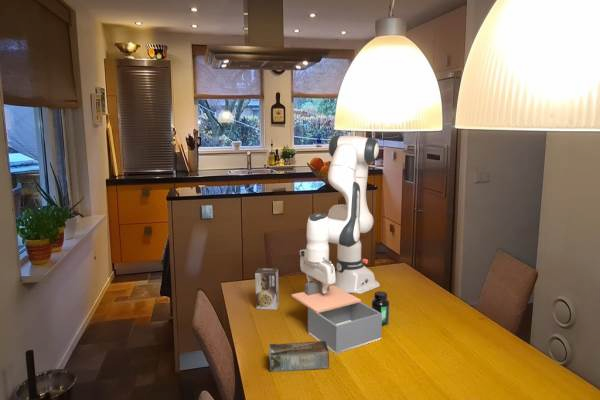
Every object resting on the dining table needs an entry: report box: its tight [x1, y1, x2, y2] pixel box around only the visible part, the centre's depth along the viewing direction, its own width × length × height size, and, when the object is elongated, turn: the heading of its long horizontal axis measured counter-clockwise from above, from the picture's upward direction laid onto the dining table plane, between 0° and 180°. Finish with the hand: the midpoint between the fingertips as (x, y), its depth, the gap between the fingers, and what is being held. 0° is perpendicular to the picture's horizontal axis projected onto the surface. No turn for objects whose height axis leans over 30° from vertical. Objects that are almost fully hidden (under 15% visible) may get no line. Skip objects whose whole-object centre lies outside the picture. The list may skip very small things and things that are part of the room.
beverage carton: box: [268, 340, 330, 373], centre depth 144 cm, size 8×19×7 cm, turn 96°
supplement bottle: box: [371, 290, 390, 327], centre depth 174 cm, size 7×7×12 cm
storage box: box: [307, 301, 383, 355], centre depth 162 cm, size 20×18×10 cm
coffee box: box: [254, 267, 280, 311], centre depth 188 cm, size 9×6×16 cm
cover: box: [291, 280, 362, 313], centre depth 171 cm, size 20×18×5 cm
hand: (317, 288), depth 176 cm, fingers open, 8 cm apart
